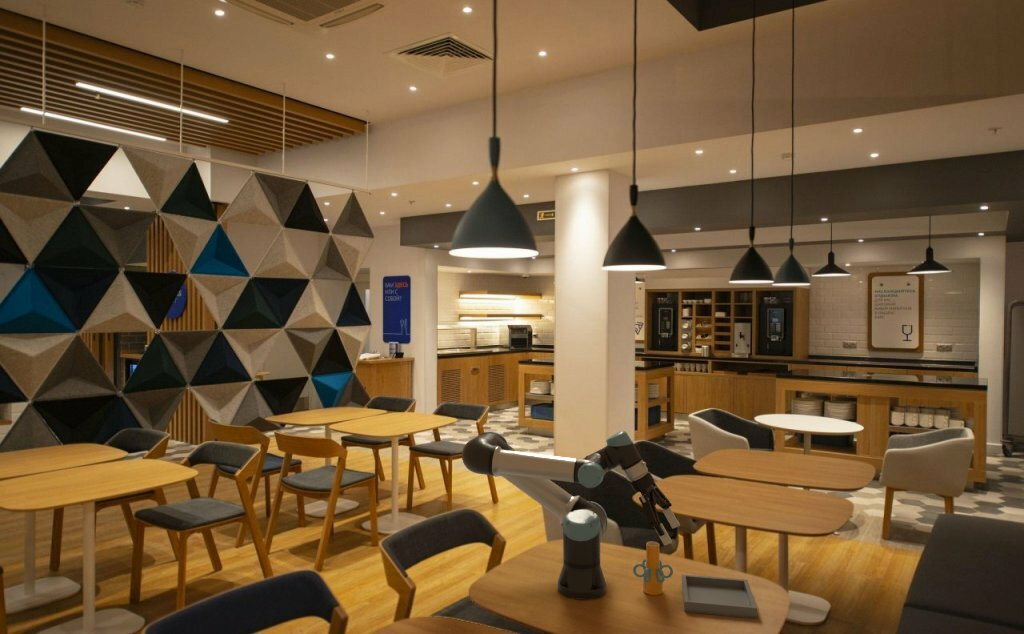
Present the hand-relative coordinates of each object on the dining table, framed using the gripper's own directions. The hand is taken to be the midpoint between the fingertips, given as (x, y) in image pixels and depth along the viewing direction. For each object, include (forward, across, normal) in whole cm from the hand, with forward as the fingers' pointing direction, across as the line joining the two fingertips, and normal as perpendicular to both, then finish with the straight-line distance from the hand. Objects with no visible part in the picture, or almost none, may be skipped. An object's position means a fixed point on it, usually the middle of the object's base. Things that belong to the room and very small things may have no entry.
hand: (672, 535), depth 207 cm
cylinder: (+10, -11, +11) cm, 19 cm away
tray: (+20, -9, -6) cm, 23 cm away
